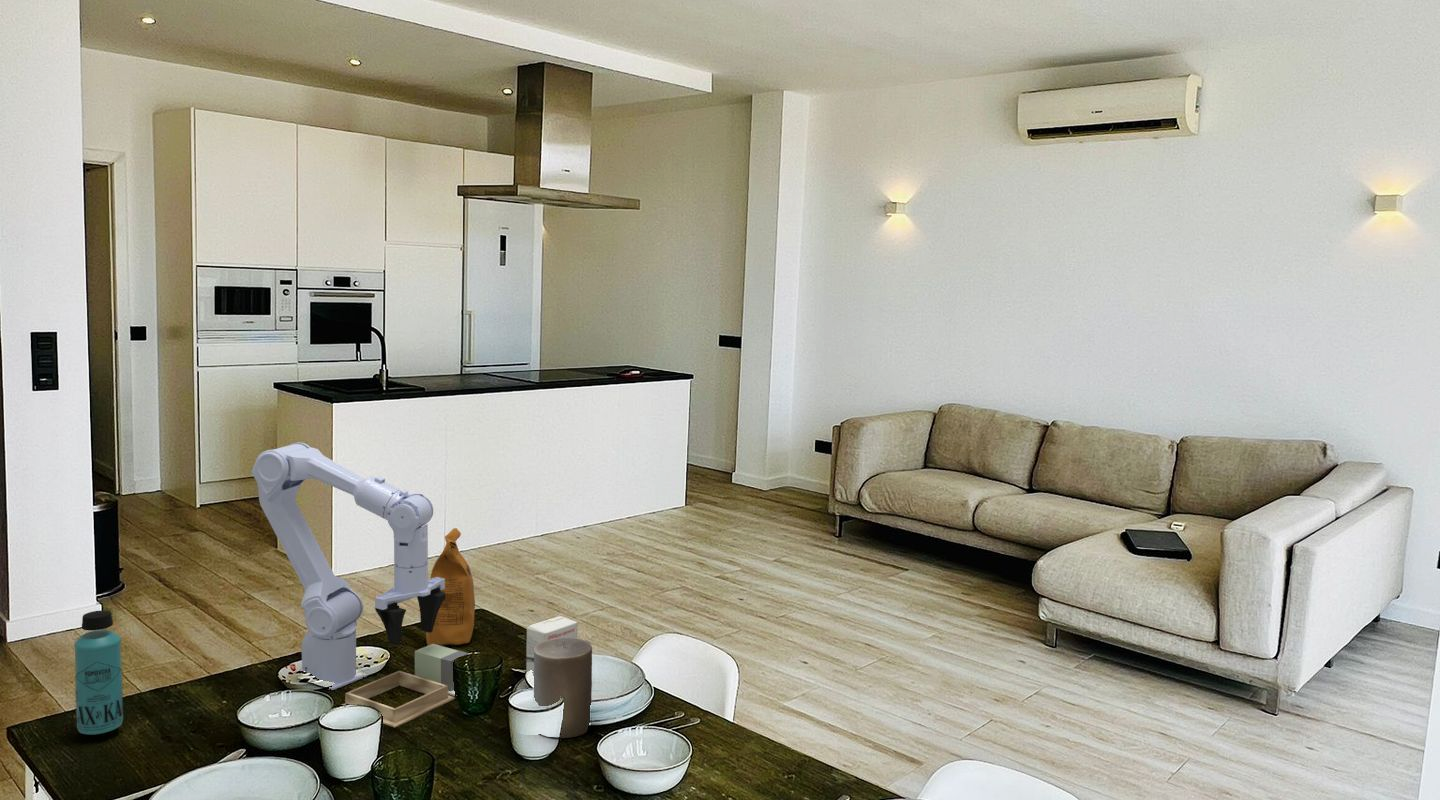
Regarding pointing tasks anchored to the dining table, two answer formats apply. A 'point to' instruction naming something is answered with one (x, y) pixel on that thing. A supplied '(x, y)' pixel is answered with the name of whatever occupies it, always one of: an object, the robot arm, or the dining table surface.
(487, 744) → the dining table surface
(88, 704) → the beverage bottle
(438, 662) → the box
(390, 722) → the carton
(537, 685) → the pillar candle
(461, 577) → the coffee package
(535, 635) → the ink box
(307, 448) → the robot arm
